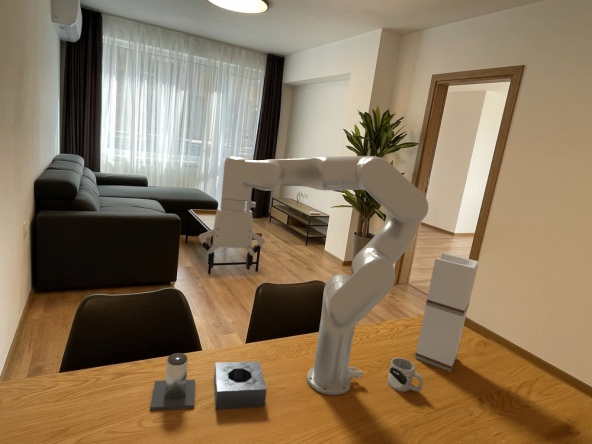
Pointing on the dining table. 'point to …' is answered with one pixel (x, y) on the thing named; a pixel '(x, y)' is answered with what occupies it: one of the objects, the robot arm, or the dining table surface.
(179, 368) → the silver metal cylinder
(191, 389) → the rubber pad
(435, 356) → the white mini fridge
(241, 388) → the housing
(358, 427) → the dining table surface
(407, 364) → the mug
